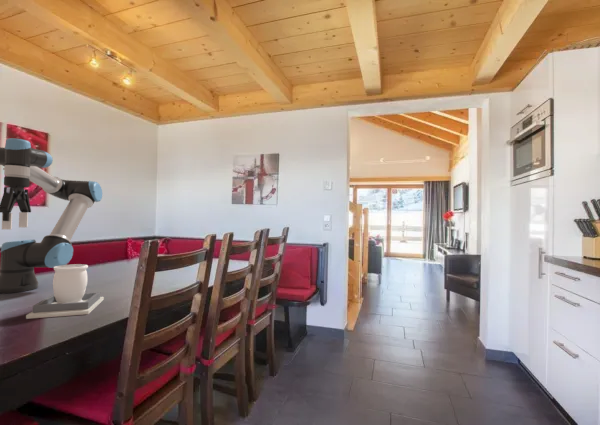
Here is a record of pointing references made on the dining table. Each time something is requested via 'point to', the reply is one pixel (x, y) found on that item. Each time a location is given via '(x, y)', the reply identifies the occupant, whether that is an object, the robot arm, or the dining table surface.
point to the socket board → (65, 306)
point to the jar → (70, 283)
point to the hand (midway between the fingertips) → (15, 228)
